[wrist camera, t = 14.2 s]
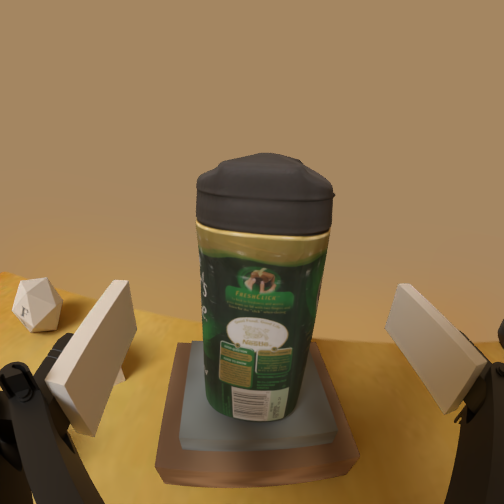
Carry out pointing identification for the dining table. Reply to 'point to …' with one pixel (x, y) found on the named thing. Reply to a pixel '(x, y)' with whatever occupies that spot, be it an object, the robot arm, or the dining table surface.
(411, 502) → the dining table surface
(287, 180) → the coffee jar
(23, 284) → the die
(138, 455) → the dining table surface
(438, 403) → the robot arm
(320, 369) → the tower stand
